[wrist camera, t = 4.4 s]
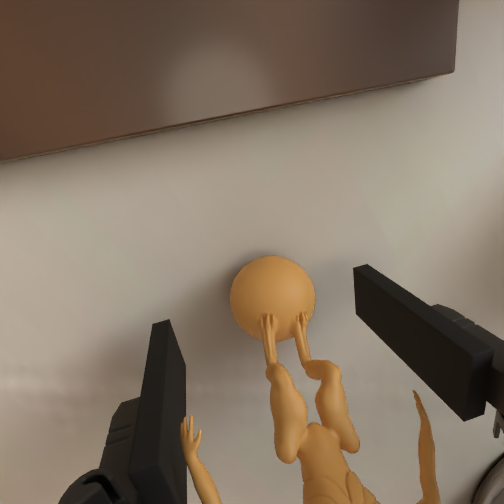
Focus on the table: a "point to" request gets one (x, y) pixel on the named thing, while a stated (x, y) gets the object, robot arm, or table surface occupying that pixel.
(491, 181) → the table surface
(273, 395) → the figurine
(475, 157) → the table surface
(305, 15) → the walnut board
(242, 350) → the table surface
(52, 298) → the table surface
